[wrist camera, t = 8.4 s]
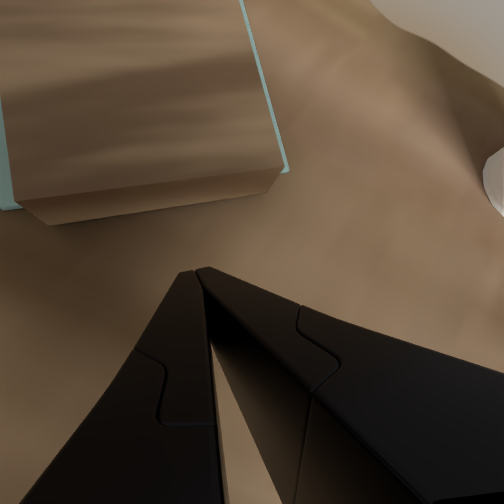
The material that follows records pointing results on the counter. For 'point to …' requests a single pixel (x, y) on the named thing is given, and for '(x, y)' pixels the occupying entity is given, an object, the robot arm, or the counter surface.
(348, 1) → the counter surface
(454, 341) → the counter surface
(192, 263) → the counter surface
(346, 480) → the robot arm
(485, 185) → the foam cup
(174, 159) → the walnut block
